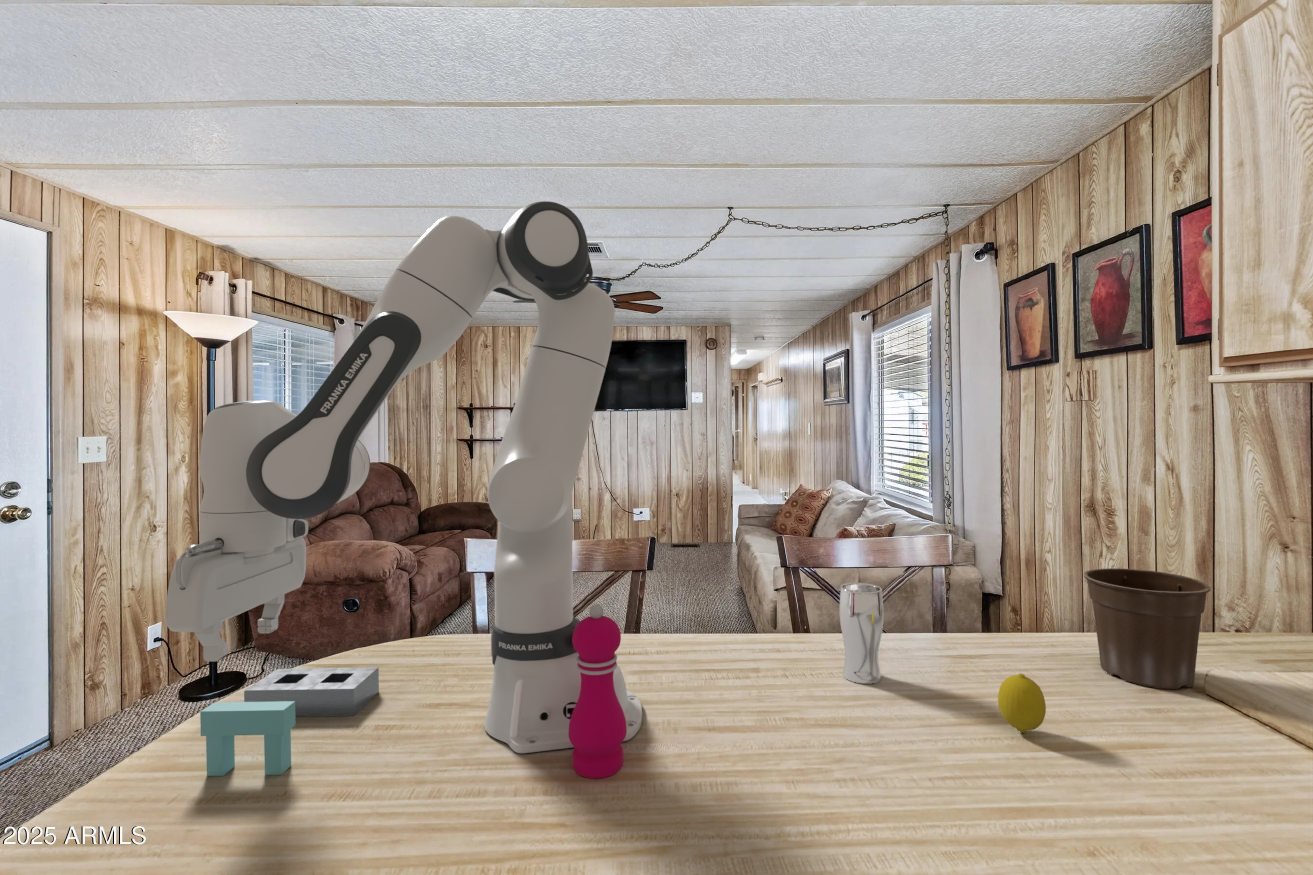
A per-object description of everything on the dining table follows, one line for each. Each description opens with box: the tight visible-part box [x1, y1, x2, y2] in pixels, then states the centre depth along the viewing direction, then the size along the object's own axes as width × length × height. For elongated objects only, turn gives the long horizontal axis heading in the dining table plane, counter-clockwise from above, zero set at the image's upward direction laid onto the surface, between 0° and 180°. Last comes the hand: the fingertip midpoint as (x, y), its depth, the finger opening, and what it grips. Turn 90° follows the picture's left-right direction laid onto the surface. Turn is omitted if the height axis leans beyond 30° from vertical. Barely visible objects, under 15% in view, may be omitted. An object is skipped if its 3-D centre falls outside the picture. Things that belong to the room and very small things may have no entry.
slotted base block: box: [243, 666, 380, 718], centre depth 92 cm, size 16×8×4 cm, turn 91°
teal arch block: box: [199, 701, 297, 777], centre depth 74 cm, size 10×2×8 cm, turn 91°
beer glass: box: [839, 582, 884, 685], centre depth 100 cm, size 7×7×15 cm
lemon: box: [997, 673, 1047, 733], centre depth 81 cm, size 6×6×8 cm
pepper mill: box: [568, 603, 627, 779], centre depth 74 cm, size 7×7×20 cm
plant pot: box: [1083, 567, 1211, 690], centre depth 99 cm, size 16×16×16 cm
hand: (243, 644), depth 73 cm, fingers open, 8 cm apart
